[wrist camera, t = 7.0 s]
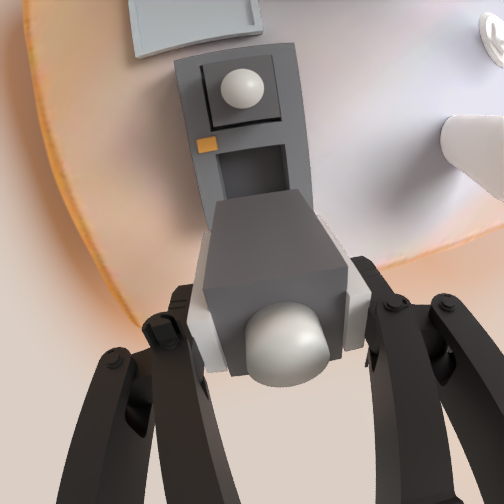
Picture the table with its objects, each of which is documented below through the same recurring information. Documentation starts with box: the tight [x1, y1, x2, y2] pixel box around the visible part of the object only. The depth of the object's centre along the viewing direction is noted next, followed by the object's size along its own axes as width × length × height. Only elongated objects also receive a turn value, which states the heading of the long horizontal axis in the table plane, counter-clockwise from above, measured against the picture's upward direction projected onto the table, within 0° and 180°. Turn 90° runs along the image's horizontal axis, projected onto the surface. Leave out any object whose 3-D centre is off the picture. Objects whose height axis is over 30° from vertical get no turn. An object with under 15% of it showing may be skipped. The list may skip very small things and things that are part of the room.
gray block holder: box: [174, 43, 314, 231], centre depth 22 cm, size 16×10×10 cm, turn 9°
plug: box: [202, 189, 348, 387], centre depth 13 cm, size 4×4×10 cm
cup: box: [440, 115, 504, 202], centre depth 21 cm, size 9×9×12 cm
